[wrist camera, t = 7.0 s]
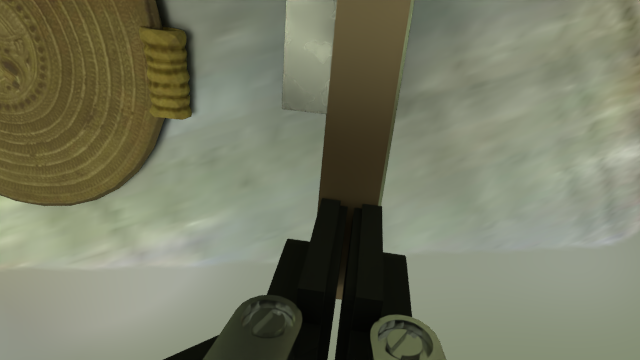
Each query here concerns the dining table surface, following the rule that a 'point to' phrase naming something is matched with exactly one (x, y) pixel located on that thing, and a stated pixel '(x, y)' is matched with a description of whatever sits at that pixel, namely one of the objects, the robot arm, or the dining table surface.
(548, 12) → the dining table surface
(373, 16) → the picture frame
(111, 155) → the decorative disc
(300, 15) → the frame post
